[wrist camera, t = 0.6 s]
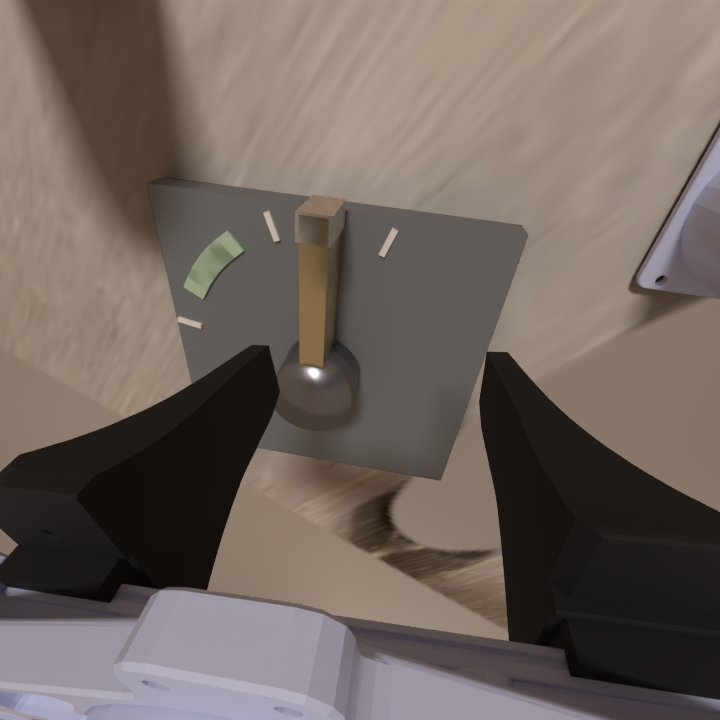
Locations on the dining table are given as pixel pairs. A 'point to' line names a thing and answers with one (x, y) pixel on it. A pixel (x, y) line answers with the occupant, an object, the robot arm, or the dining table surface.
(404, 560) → the dining table surface
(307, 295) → the brown bar with cylinder
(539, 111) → the dining table surface
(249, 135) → the dining table surface
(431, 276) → the dial board
